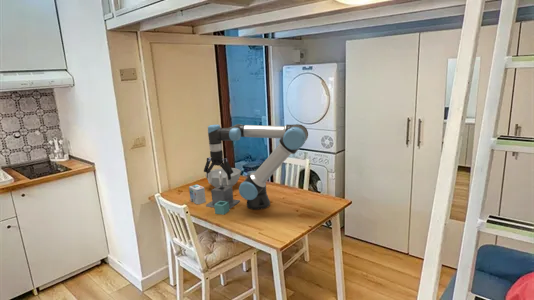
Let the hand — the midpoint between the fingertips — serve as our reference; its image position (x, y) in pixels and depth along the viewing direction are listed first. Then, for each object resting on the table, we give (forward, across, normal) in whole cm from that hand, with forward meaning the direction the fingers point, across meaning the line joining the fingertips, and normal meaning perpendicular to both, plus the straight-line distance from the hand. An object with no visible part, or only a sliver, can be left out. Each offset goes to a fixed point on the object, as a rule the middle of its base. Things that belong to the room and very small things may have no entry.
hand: (219, 183), depth 206 cm
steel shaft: (+12, -7, +12) cm, 18 cm away
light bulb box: (+19, -27, +11) cm, 35 cm away
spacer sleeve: (+19, 0, 0) cm, 19 cm away
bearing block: (+19, -7, +12) cm, 23 cm away
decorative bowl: (+19, -25, +42) cm, 52 cm away
